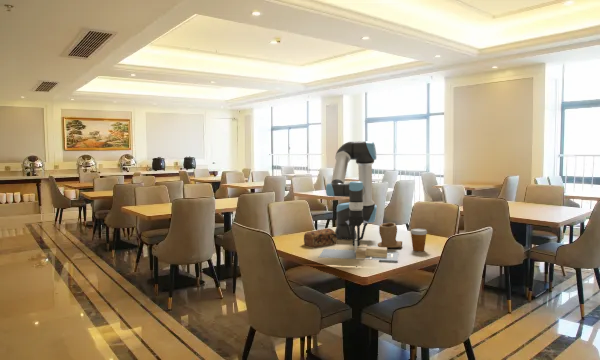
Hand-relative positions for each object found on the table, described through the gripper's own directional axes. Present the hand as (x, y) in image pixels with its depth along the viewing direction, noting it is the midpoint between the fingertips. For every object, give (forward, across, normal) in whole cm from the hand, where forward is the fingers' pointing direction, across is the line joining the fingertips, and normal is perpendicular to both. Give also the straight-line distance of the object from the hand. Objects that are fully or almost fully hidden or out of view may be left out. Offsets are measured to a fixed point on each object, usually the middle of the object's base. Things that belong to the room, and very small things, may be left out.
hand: (356, 251), depth 239 cm
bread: (+3, -24, +23) cm, 33 cm away
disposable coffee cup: (+3, +34, +20) cm, 40 cm away
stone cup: (+3, +18, +24) cm, 30 cm away
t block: (+1, +9, 0) cm, 9 cm away
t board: (+2, +1, 0) cm, 3 cm away
